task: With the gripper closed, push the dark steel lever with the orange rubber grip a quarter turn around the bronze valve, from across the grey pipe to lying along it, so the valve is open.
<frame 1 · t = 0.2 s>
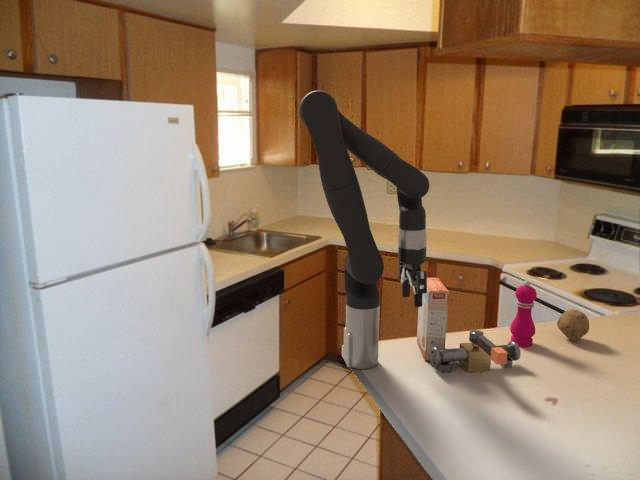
hand: (411, 301, 141), 18 cm above the table, tool pointing down, fingers open, 8 cm apart
valve pipe: (474, 367, 141), on the table
cracker box: (430, 351, 151), on the table
brown rounded lump: (571, 340, 160), on the table
pepper mill: (521, 343, 157), on the table
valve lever: (486, 345, 133), point 9 cm above the table, hinge at 0.0°
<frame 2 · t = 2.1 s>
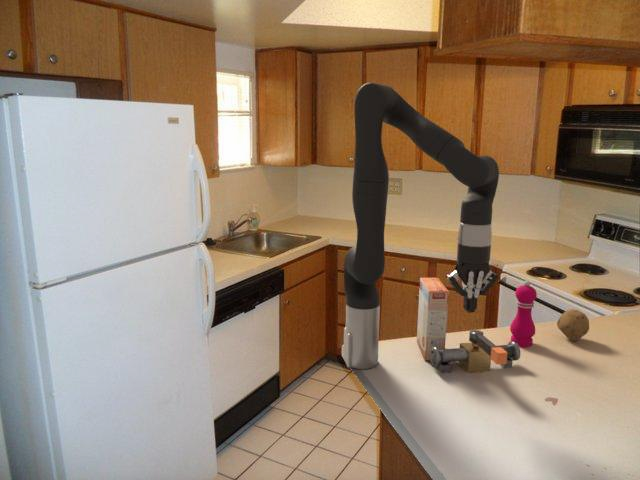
hand: (469, 311, 123), 21 cm above the table, tool pointing down, fingers closed
nothing on the table moved.
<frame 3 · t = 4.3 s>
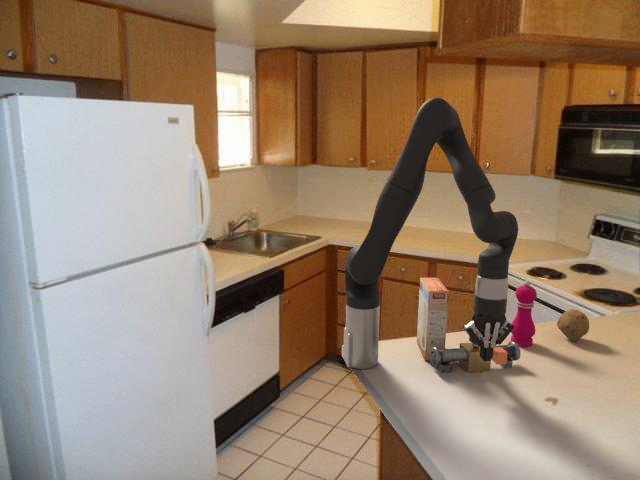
hand: (486, 359, 127), 8 cm above the table, tool pointing down, fingers closed
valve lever: (486, 345, 133), point 9 cm above the table, hinge at 0.0°, touching gripper
everything else where it was.
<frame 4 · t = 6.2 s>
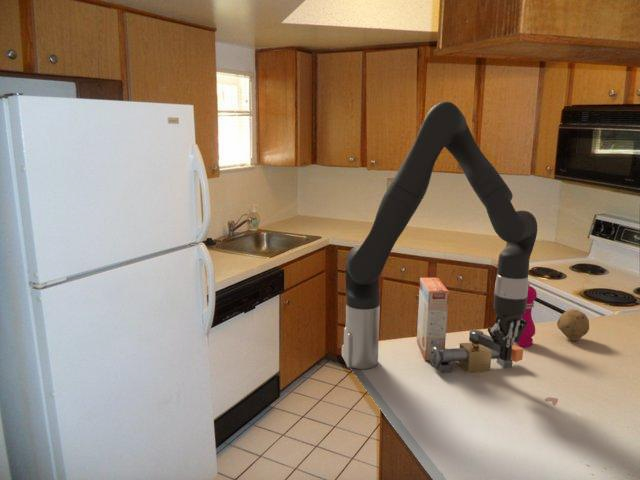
hand: (504, 359, 127), 8 cm above the table, tool pointing down, fingers closed
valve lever: (494, 344, 134), point 9 cm above the table, hinge at 22.4°, touching gripper
everything else where it was.
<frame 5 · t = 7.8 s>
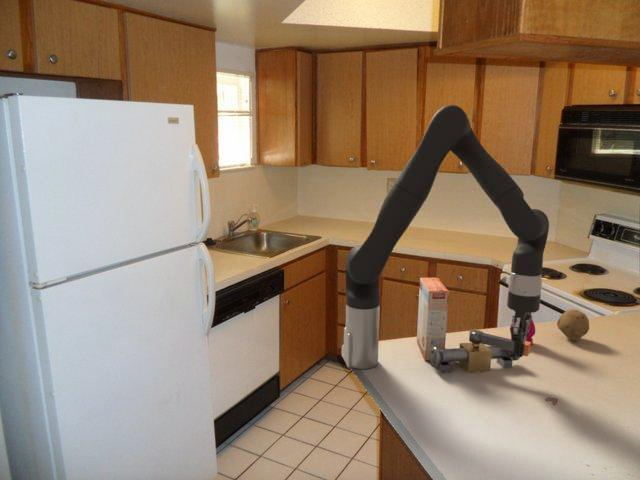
hand: (518, 355, 129), 8 cm above the table, tool pointing down, fingers closed
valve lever: (498, 342, 135), point 9 cm above the table, hinge at 44.3°, touching gripper
everything else where it was.
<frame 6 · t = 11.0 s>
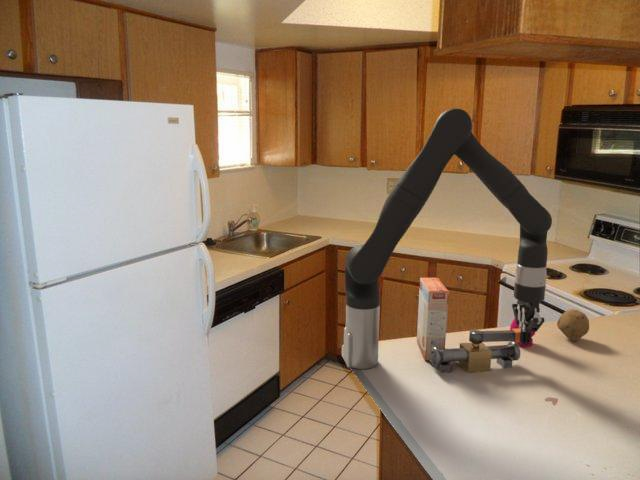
hand: (524, 343, 137), 8 cm above the table, tool pointing down, fingers closed
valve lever: (497, 336, 139), point 9 cm above the table, hinge at 84.8°, touching gripper
everything else where it was.
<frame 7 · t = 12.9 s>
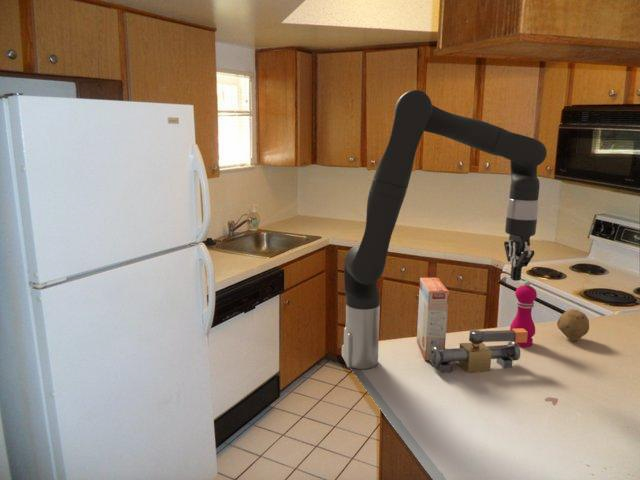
hand: (515, 279, 137), 25 cm above the table, tool pointing down, fingers closed
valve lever: (497, 336, 139), point 9 cm above the table, hinge at 84.9°
everything else where it was.
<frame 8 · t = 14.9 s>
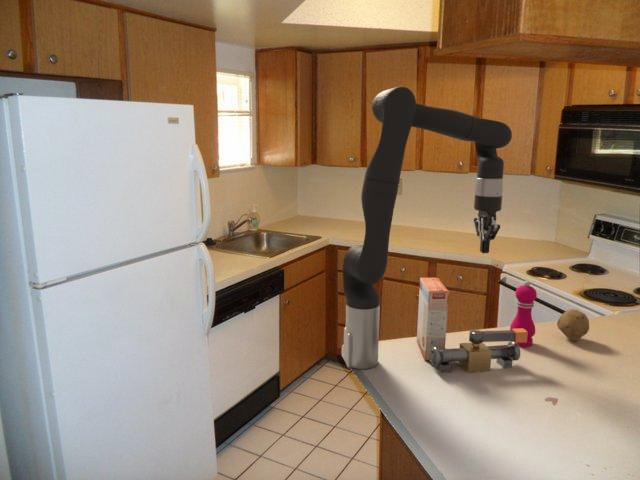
hand: (484, 252, 149), 29 cm above the table, tool pointing down, fingers closed
nothing on the table moved.
at the end: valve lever at +85° (first picture: +0°); cracker box moved 0.2 cm from its start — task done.
